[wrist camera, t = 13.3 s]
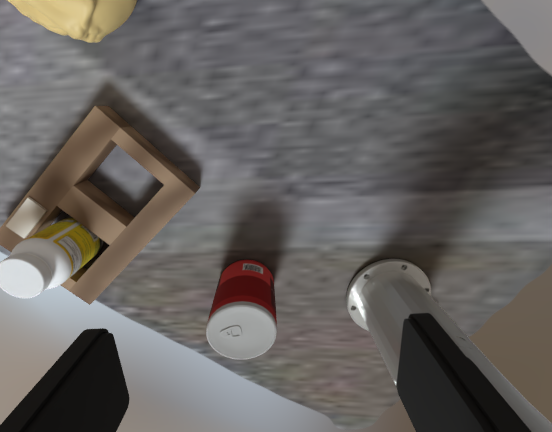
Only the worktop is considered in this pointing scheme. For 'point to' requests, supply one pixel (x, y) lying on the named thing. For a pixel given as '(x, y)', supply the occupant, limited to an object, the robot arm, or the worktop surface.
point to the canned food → (243, 311)
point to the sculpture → (78, 16)
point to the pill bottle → (48, 258)
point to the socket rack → (99, 199)
